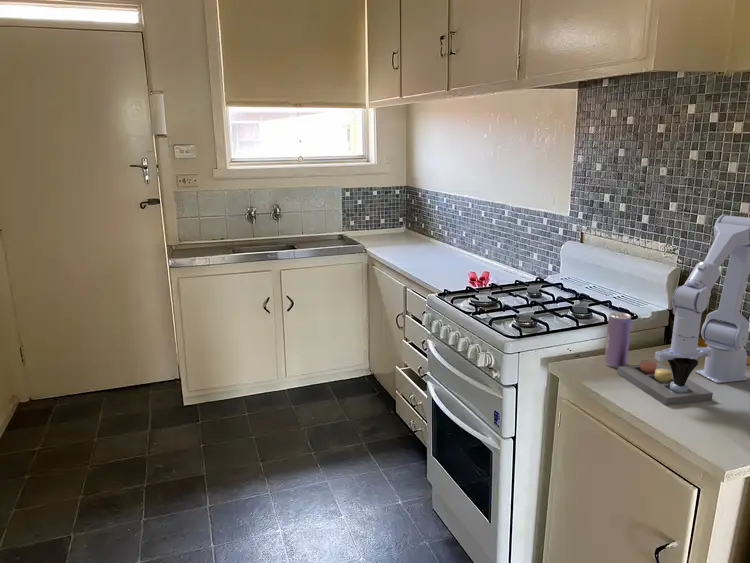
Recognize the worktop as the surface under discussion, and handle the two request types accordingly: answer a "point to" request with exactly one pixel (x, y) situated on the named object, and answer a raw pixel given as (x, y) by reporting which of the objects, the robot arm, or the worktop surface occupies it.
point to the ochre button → (663, 375)
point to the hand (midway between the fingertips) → (679, 384)
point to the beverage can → (617, 339)
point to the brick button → (648, 366)
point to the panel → (663, 386)
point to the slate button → (678, 388)
